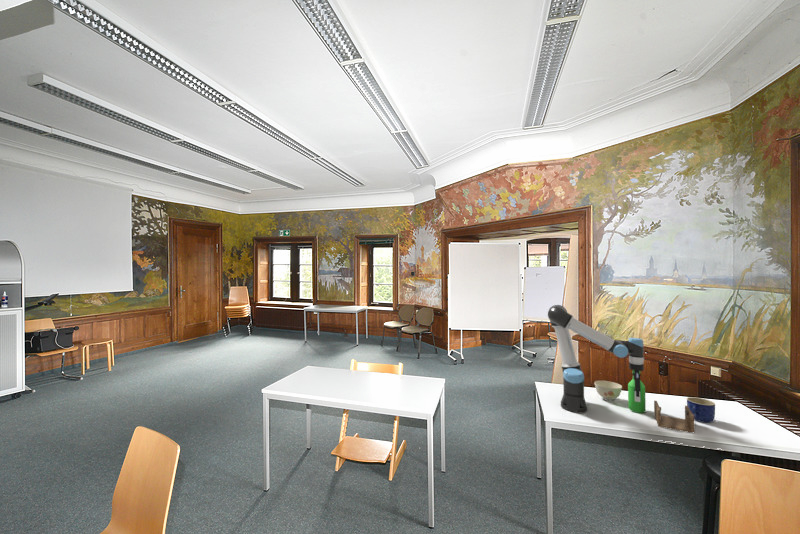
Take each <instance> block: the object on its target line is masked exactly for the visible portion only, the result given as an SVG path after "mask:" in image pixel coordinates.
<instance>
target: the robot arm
mask: <svg viewBox="0 0 800 534" xmlns="http://www.w3.org/2000/svg"><path fill="white" fill-rule="evenodd" d="M547 317H548V318H547V319H548V320H549V321H550V325H551V327H552V328H553V329H554V332H555V337H556V342H557V343H558V344H557V345H558V349H559V352H560V356H561V361H562V363H561V370H562V377H563V379H562V380H563V384H562V385H563V386H562V387H563V395H562V396H561V397H562V398H561V400H560V407H561V408H562V409H564V410H566V411H568V412H572V413H580V414H581V413H587V411H588V404H587V401H586V399H585V375H584V372H583V370H582V366H581V363H580V362H578V361H577V357H576V353H575V350H574V345H573V341H572V337H571V334H570V331H572V332H573V333H576V334H578V335H579V336H581V337H583V338H585V339H586V340H589V341H591V342H592V343H593V344H595V345H597V346H600V348H603V349H605V350H606V351H608V352H610V353H612V354H614V355H615V356H616V357H618V358H620V359H622V358H625V357H627V356H628V362H629V363H628V366H629V367H628V368H629V370H632V371H633V370H634V372H635V373H632V372H631V373H632V379H633V378H634V380H635V389H634V391H635V401H636V402H640V391H641V390H640V380H641V374H639V371H640V372H642V371H644V369H645V365H644V363H645V362H644V361H645V358H644V357H645V356H644V354H645V353H644V352H645V351H644V347H645V346H644V340H643V339H642V338H638V337H629V338H628V340H620V339H619V340H618V339H613V338H611V337H609V336H607V335H606V334H604V333H601V332H600V331H599V330H596V329H595V328H593V327H591V326H589V325H587V324H585V323H583V322H582V321H580V320H578V319H577V318H574V316H573V315H572V314H570V313H569V312H568V310H567V309H566V307H565V306H563V305H562V304H554V305H552V306H550V307H549V309H548V310H547ZM634 375H635V376H634Z"/></svg>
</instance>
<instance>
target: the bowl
mask: <svg viewBox="0 0 800 534" xmlns="http://www.w3.org/2000/svg"><path fill="white" fill-rule="evenodd" d="M594 387H595V390H596V393H597V394H598V395H599V396H600V397H601V398H602V399H603V400H605V401H608V402H609V401H610V402H613V401H615V400H616V399H617V398H619V397H620V395H621V392H622V390H623V385H621V384H619V383H618V382H614V381H609V380H595V381H594Z"/></svg>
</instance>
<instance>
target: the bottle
mask: <svg viewBox="0 0 800 534" xmlns="http://www.w3.org/2000/svg"><path fill="white" fill-rule="evenodd" d="M641 372H642V371H639V374H641ZM631 373H635V372H634V370H632V372H631ZM634 376H635V375H634ZM634 389H635V380H634V378H633V377H632V379H631V380H630V381H629V382H628V384H627V398H628V399H627V402H628V403H627V406H628V409H629V411H631V412H634V413H638V414H643V413H645V412H646V408H647V407H646V386H645V384H644V383H643V382H642V380H641V379H640V390H641V391H640V402H636V401H635V391H634Z"/></svg>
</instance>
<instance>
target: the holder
mask: <svg viewBox="0 0 800 534" xmlns="http://www.w3.org/2000/svg"><path fill="white" fill-rule="evenodd" d="M653 405H654V407H653V408H654V412H653V413H654V418H655V421H657V422H656V424H657V427H659V426H660V428H664V427H665V428H664V429H669V428H671V429H670V430H675V429H676V430H675V431H680V430H681V431H680V432H685V431H688V432H687V433H690V432H694V433H695V420H694V415H693V413H692V412H691V410H690V409H689V407H688V406H687V405H684V418H680V417H679V418H678V417H673V416H667V415H662V407H661V406H660V405H659V403H658V401H657V400H654V401H653Z"/></svg>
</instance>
